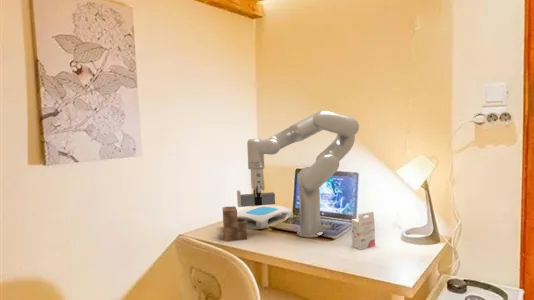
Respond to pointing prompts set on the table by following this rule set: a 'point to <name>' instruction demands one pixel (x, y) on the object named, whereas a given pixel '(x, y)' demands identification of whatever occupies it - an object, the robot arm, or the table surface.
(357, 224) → the ink cartridge box
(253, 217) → the white step stool
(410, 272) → the table surface
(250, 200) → the grey rectangular block
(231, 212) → the brown stepped block
